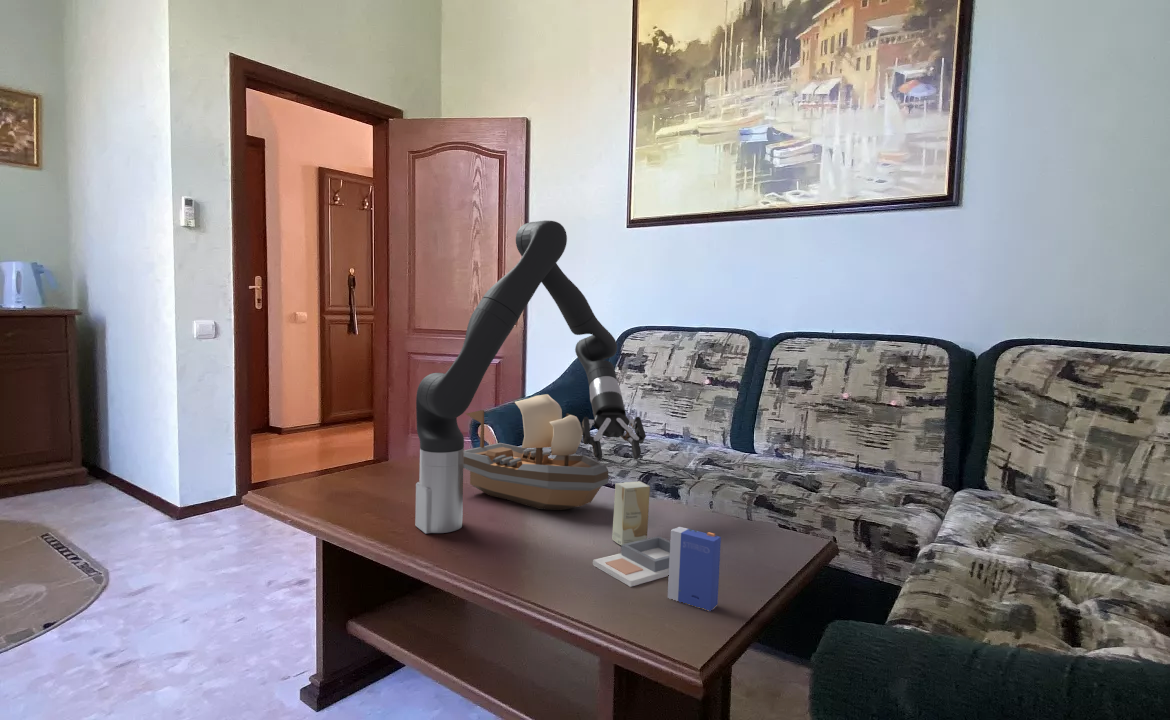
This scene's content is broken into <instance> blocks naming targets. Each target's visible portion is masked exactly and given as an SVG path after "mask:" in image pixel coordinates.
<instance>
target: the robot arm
mask: <svg viewBox="0 0 1170 720" xmlns="http://www.w3.org/2000/svg"><path fill="white" fill-rule="evenodd" d="M567 242H568V236H567V231H566V229H565V227H564V226H563V225H562V224H561V223H560V222H557V221H556V220H540V221H539V220H538V221H530V222H527V223H524V224H523V225H521V226H520V227H519V228H518V230H517V231H516V234H515V246H516V249H517V251H518V253H519V254H520V256H521V258H520V259H519V261H518V262H517V263H516V264H515V266H514V267H512V269H510V271H508V272H507V273H506V274H504V276H502V277H501V278H500V279H499V280H498V281H496V282H495V283H494V284H493V285H492V286H491V287H490V288H489V289H488V290H487V291H486V292H485V294H484V295H483V297H482V298H481V300H480V301H479V302H478V304H477V306H476V307H475V309H474V310H473V312H472V314H471V316H470V318H469V320H468V324H467V329H466V332H465V336H464V341H463V345H462V348H461V350H460V352H459V354H458V355H457V357H455V360H454V361H453V363H452V365H451V366H450V367H449V369H448V370H446V372H445V373H444V372H434V373H433V372H432V373H429V374H428V375H426V376H425V377H423V378H422V379H421V381H420V383H419V385H418V386H417V391H416V396H415V397H416V398H415V401H416V402H415V408H416V410H415V411H416V413H415V415H416V416H415V417H416V433H417V436H418V439H419V481H417V482H416V483H415V516H414V518H415V521H414V524H415V527H416V528H418V530H420V531H422V532H423V533H424V534H444V533H451V532H455V531H458V530H460V529H461V528H462V527H463V519H464V517H463V516H464V515H463V512H464V511H463V507H464V506H463V505H464V504H463V501H464V499H463V497H464V468H463V462H464V450H465V448H464V447H465V437H464V434H463V433H462V431H461V430H460V427H459V425H458V419H457V418H459V417H460V416H462V415H463V414H465V412H466V411H467V409H468V408H469V406H470V405H471V403H472V401H473V399H474V397H475V395H476V392H477V390H478V389H479V387H480V385H481V383H482V380H483V378H484V376H485V374H486V373H487V370H488V369H489V367H490V365H491V364H492V362H493V360H494V359H495V358H496V356H497V354H498V352H499V351H500V349H501V348H502V346H503V344H504V343H505V341H506V339H507V338H508V337H509V336H510V334H511V332H512V330H513V328H514V327H515V326H516V324H517V322H518V321H519V319H520V317H521V315H522V313H523V312H524V310H525V308H526V307H527V305H528V304H529V302H530V301H531V299H532V298H533V296H534V294H535V293H536V291H537V289H538V287H539V286H540V284H541V283H542V285H543V286H544V288H545V290H547V292H548V293H549V295H550V296H551V298H552V300H553V301H554V303H555V304H556V306H557V307H558V309H559V311H560V313H561V315H562V316H563V319H564V321H565V322H566V324H567V326H568V328H569V330H570V332H571V334H574V335H576V336H581V335H589V336H587V337H584V338H582V339H580V340H579V341H577V343H576V344H575V349H574V350H575V351H574V352H575V355H576V357H577V360H579V363H581V365H582V367H583V369H584V372H585V373H586V377H587V383H588V387H589V401H590V404H591V408H592V415H593V419H589V417H588V416H584V417H583V419H582V422H581V427H582V433H583V435H582V442H583V444H584V445H587V446H588V445H590V446H591V447H592V452H593V456H594V458H595V459H597V460H596V461H602V458H603V452H602V451H603V449H602V446H601V440H603V438H604V437H606V438H621V439H623V440H624V441H626V442H628V443H629V444H630V448H631V452H632V457H633V460H635V461H636V460H639V458H640V455H642V450H641V445H642V444H644V441H645V438H646V437H647V434H646V432H645V429H644V426H643V422H642V418H641V417H639V416H636V417H635V418H632V419H631V418H630V419H629V418H628V417H627V414H626V408H625V404H624V400H623V395H622V390H621V387H620V385H619V381H618V377H617V373H616V369H615V366H614V364H613V363H612V362H611V361H609V360H608V359H610V358H612V357H614V356H615V355H616V353H617V352H618V345H617V341H616V339H615V337H614V336H613V334H612V333H610V332H609V330H608V329H607V328H606V327H605V326H604V325H603V324H602V323H601V322H600V321H599V320H598V318H597V317H596V315H595V314H594V312H593V310H592V307H591V306H590V304H589V301H588V300H587V298H586V296H585V295H584V294H583V293H582V291H581V290H580V289H579V287H578V286H576V285H575V283H574V282H573V281H572V280H571V279H570V278H569V277H568V276H567V274H565V273H564V272H563V271H562V269H561V268H560V266H559V265H558V263H557V262H558V261H560V258H561V257H562V256H563V254H564V252H565V250H566V247H567V244H568V243H567ZM592 426H593V427H594V428H595V429H596V430H597V432H596V433H595V434H594V436H592V435H591V428H592ZM630 426H631V427H630ZM633 430H634V431H633ZM640 444H641V445H640Z"/></svg>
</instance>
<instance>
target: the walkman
mask: <svg viewBox="0 0 1170 720" xmlns="http://www.w3.org/2000/svg"><path fill="white" fill-rule="evenodd" d="M721 539H722V537H721V536H718V535H716V533H714V532H709V531H708V532H702V531H699V530H694V529H690V528H686V527H682V526H678V527H676V528H672V529H671V530H670V540H669V541H670V555H669V576H667V577H668V580H667V582H668V583H667V599H668V598H669V599H668V600H671V599H673V600H672V601H674V600H676V601H675V602H677V601H679V603H681V602H683V603H682V604H684V603H687V604H690V605H693V606H696V607H700V608H704V609H706V610H709V611H711V610H712V609H713V608H714V607H715V606H716V605H717V604H718V602H719V582H720V581H719V580H720V565H721V563H720V562H721V546H722V545H721V543H722V540H721ZM687 604H686V605H687ZM690 605H689V606H690ZM693 606H692V607H693ZM717 606H718V605H717ZM696 607H695V608H696ZM714 609H715V608H714ZM714 609H713V610H714ZM706 610H705V611H706ZM713 610H712V611H713ZM709 611H708V612H709ZM712 611H711V612H712Z"/></svg>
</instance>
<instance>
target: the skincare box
mask: <svg viewBox="0 0 1170 720" xmlns="http://www.w3.org/2000/svg"><path fill="white" fill-rule="evenodd" d="M614 485H615V486H614V503H613V519H612V535H611V537H612V538H611V539H612V541H614V542H615V543H616V544H618V545H619V546H620V547H621V546H622V544H626V543H631V542H635V541H639V540H643V539H648V528H649V527H648V525H649V510H650V509H649V508H650V506H649V505H650V492H651V491H650V490H651V489H650V488H651V486H650V485H649V484H646V483H644V482H642V481H640V480H639V481H625V482H616V483H615V484H614Z"/></svg>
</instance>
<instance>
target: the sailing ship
mask: <svg viewBox="0 0 1170 720" xmlns="http://www.w3.org/2000/svg"><path fill="white" fill-rule="evenodd" d="M514 404H515V405H516V406H517V408H518V409H519V410H520V413H521V415H522V417H521V418H522V425H523V426H522V427H523V435H524V437H523V440H522V445H521V446H517V445H512V444H507V443H502V442H498V443H493V444H488V445H485V410H483V409H482V410H477V411H471V412H467V413H465V415H467V416H468V417H470V418H472V419H473V420H475V421H477V422H479V423H480V433H479V434H480V435H479V436H480V440H479V447H474V448H469V449H464V462H463V470H464V469H465V470H467V471H470V472H469V484H470V485H471V486H473V487H474V488H476V489H478V490H479V491H481V492H483V493H485V494H486V495H488V496H489V495H490V497H494V498H499V499H504V500H506V499H507V500H506V501H511V502H514V503H518V504H521V505H525V506H529V507H532V508H536V509H539V510H549V511H550V510H552V511H553V510H554V511H564V510H565V511H566V510H569V509H570V510H571V509H574V508H578V507H582V506H584V505H587V504H589V503H592V502H593V499H594V498H595V497H596V495H597V493H599V490H600V489H601V488H602V487H604V486H605V485H607V484H609V470H608V467H607V465H606V464H604V463H603V462H600V461H599V460H596V459H594V458H592V457H590V456H587V455H586V454H584V455H583V454H576V453H577V451H578V448H579V447H580V444H581V443H582V441H583V433H582V424H581V422H580V420H579V418H578V417H577V416H575V415H573V414H570V413H565V417H563V413H562V412H563V410H562V407H561V405H560V403H558V402H557V401H556V400H555V399H553V398H552V397H551V396H550V395H549V394H548V393H547V394H546V393H545V394H541V395H540V394H538V395H534V396H531V397H529V398H524V399H520V400H518V401H517V400H516V401H514ZM545 448H550V449H551V450H549V451H544V449H545ZM550 456H555V457H554V458H552V457H550Z"/></svg>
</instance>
